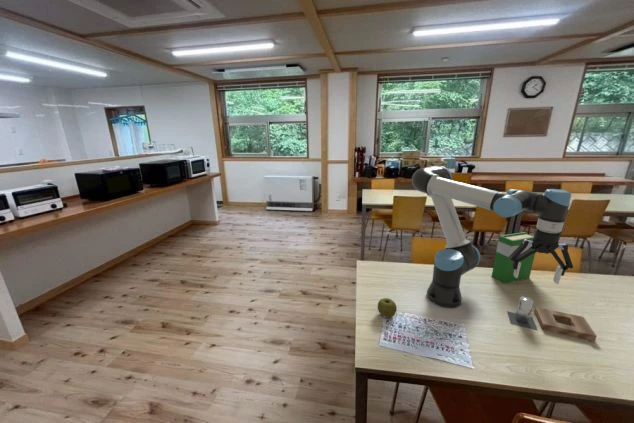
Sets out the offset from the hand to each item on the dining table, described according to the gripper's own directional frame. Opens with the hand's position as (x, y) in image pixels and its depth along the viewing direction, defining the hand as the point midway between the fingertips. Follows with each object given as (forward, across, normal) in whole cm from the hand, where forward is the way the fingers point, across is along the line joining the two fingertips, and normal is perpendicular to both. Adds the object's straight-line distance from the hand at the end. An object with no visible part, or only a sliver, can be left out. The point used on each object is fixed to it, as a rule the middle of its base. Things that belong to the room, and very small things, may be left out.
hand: (535, 279), depth 110 cm
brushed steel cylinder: (+19, -2, -2) cm, 19 cm away
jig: (+19, +12, -1) cm, 23 cm away
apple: (+20, -56, -16) cm, 61 cm away
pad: (+19, -2, -2) cm, 19 cm away
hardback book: (+20, +5, +37) cm, 42 cm away
